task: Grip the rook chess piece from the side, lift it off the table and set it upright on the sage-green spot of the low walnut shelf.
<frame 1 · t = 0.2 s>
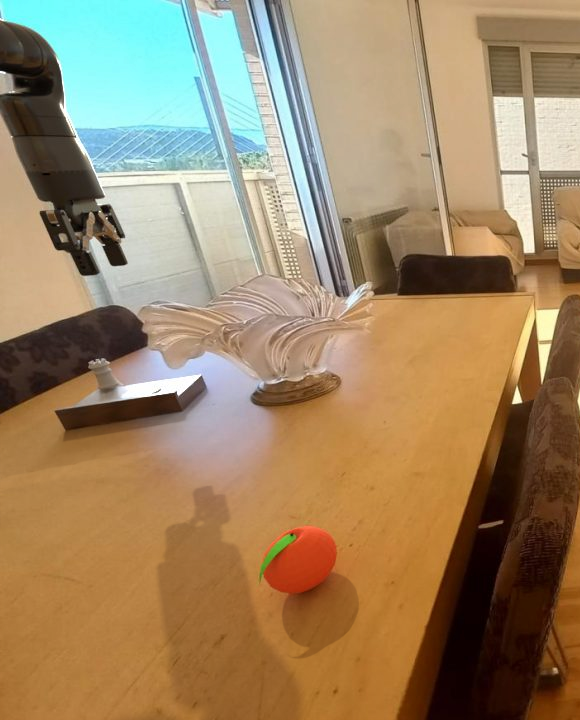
hand: (106, 270, 81), 29 cm above the table, tool pointing down, fingers open, 8 cm apart
rook chess piece: (114, 395, 103), on the table
shelf: (141, 406, 97), on the table
clementine: (306, 586, 54), on the table
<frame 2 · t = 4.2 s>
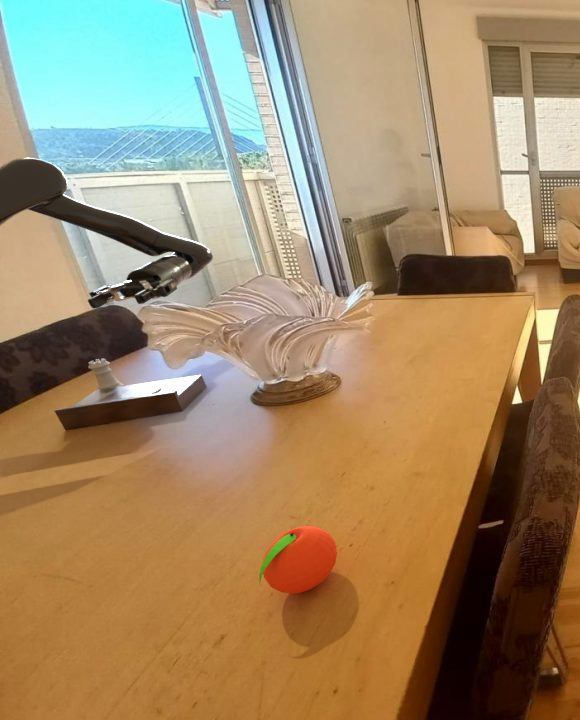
hand: (115, 302, 105), 18 cm above the table, tool horizontal, fingers open, 8 cm apart
nothing on the table moved.
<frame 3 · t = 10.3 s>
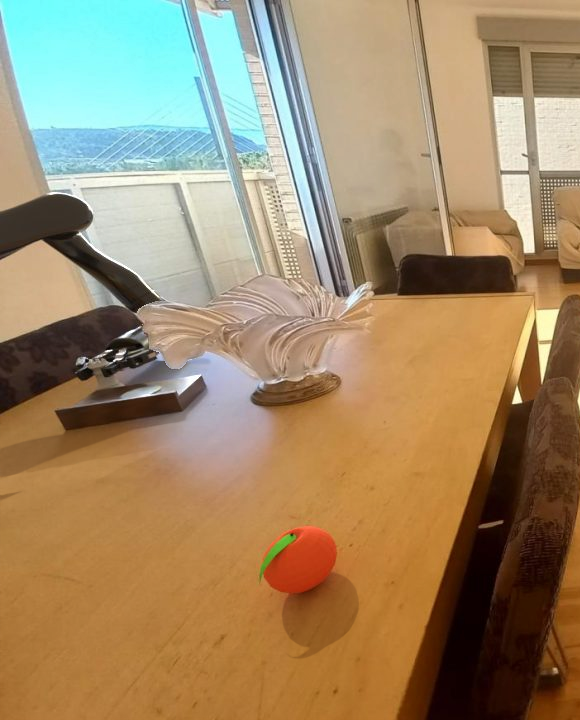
hand: (93, 374, 98), 6 cm above the table, tool horizontal, fingers closed on rook chess piece, 3 cm apart
rook chess piece: (114, 395, 103), on the table, touching gripper
everything else where it was.
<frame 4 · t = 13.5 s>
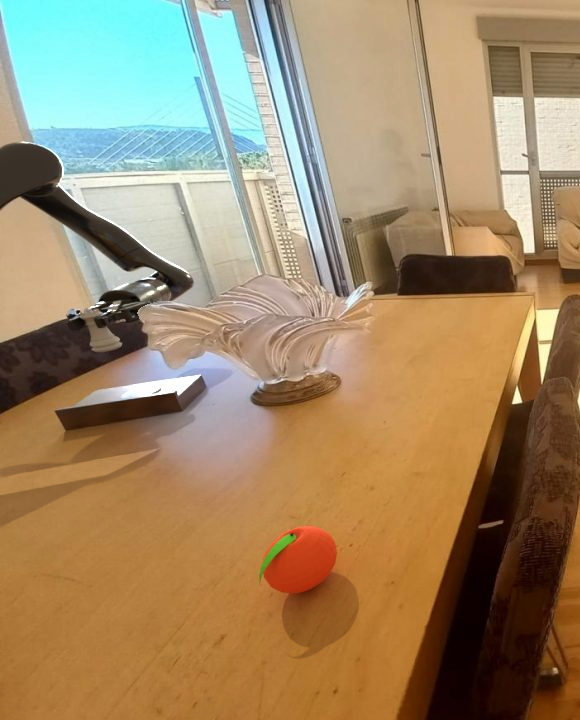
hand: (85, 324, 90), 18 cm above the table, tool horizontal, fingers closed on rook chess piece, 3 cm apart
rook chess piece: (108, 349, 95), point 12 cm above the table, touching gripper
everything else where it was.
when the fingers open (9 cm above the table, at t = 16.9 s): rook chess piece stays where it is, resting on shelf.
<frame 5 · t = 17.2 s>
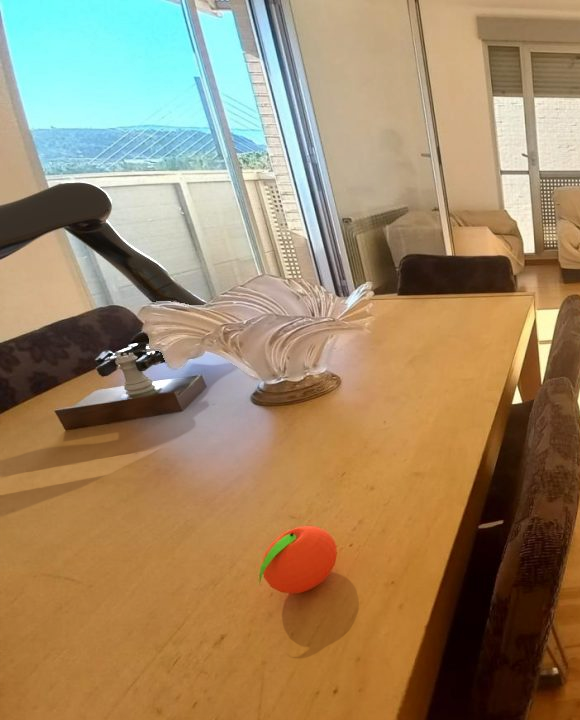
hand: (120, 369, 91), 9 cm above the table, tool horizontal, fingers open, 5 cm apart
rook chess piece: (142, 392, 96), point 3 cm above the table, touching shelf
everything else where it was.
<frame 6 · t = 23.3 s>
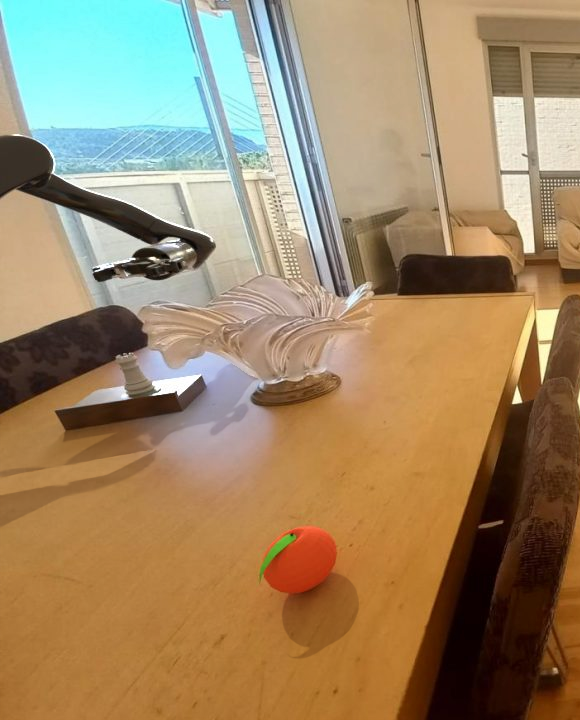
hand: (124, 274, 97), 25 cm above the table, tool horizontal, fingers open, 8 cm apart
nothing on the table moved.
at the end: rook chess piece 0.2 cm from the target spot on the shelf, point 3.0 cm above the shelf's base; rook chess piece tilted 0°; the gripper is holding nothing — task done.
